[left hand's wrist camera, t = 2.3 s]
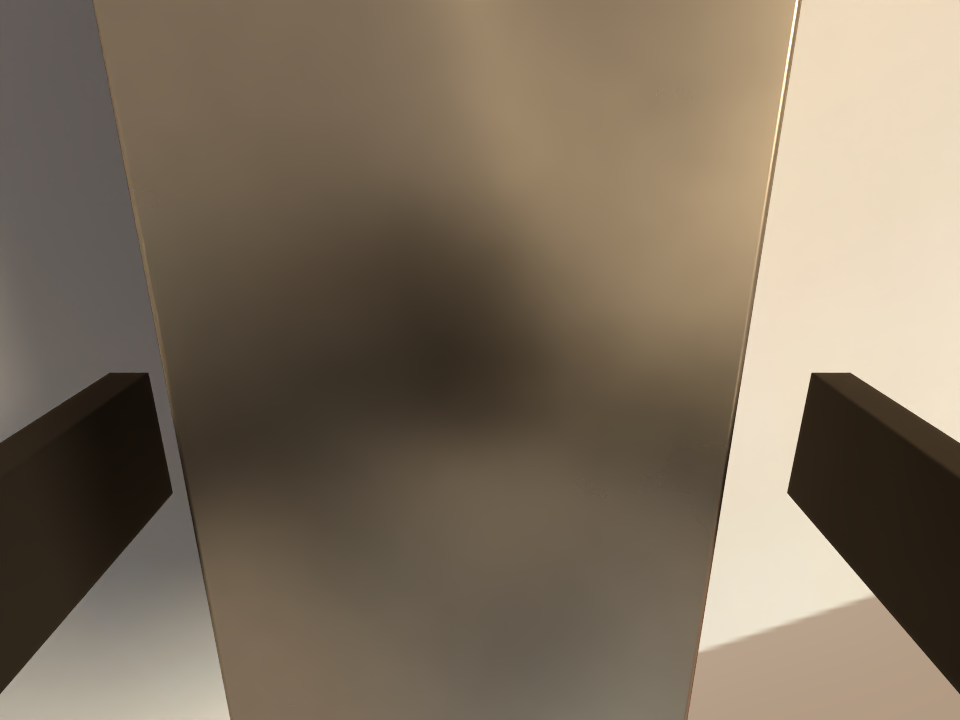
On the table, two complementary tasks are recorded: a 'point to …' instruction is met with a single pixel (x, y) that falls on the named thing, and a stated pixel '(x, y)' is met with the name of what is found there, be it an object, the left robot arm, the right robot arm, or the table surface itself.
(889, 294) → the table surface
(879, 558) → the left robot arm
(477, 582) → the box
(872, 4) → the table surface
